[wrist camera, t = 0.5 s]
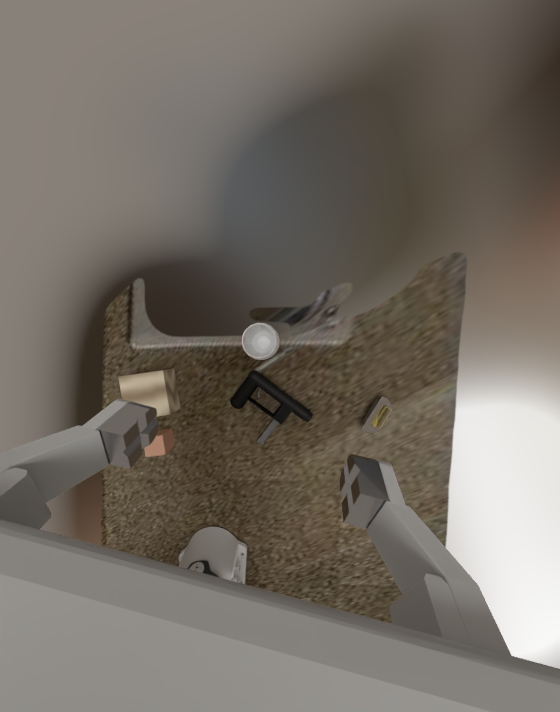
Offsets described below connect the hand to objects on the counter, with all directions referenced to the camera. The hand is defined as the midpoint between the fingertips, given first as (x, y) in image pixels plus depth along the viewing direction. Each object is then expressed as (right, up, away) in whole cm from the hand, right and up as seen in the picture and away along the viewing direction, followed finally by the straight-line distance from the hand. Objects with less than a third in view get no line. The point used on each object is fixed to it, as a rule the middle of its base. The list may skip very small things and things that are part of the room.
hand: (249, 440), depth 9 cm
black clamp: (-2, -11, +52) cm, 54 cm away
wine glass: (-2, +7, +51) cm, 52 cm away
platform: (+26, -12, +52) cm, 60 cm away
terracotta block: (-30, -19, +52) cm, 63 cm away
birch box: (-32, -6, +52) cm, 61 cm away
